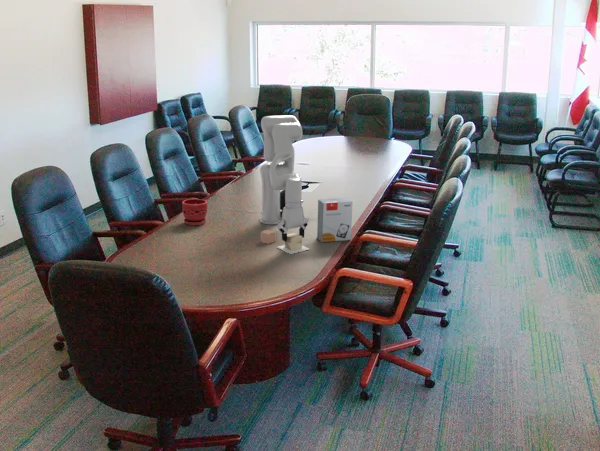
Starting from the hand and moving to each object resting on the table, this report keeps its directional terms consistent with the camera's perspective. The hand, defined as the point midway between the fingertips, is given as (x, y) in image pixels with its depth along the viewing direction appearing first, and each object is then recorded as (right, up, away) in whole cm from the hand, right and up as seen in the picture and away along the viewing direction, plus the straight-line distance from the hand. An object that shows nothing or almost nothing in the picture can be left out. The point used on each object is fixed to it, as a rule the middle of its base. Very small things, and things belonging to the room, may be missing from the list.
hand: (293, 238), depth 308 cm
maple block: (0, -4, +1) cm, 4 cm away
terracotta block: (-12, -2, +11) cm, 17 cm away
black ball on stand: (-3, +12, +54) cm, 55 cm away
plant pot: (-52, +7, +40) cm, 66 cm away
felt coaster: (0, -5, +1) cm, 5 cm away
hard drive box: (+20, -1, +16) cm, 25 cm away
